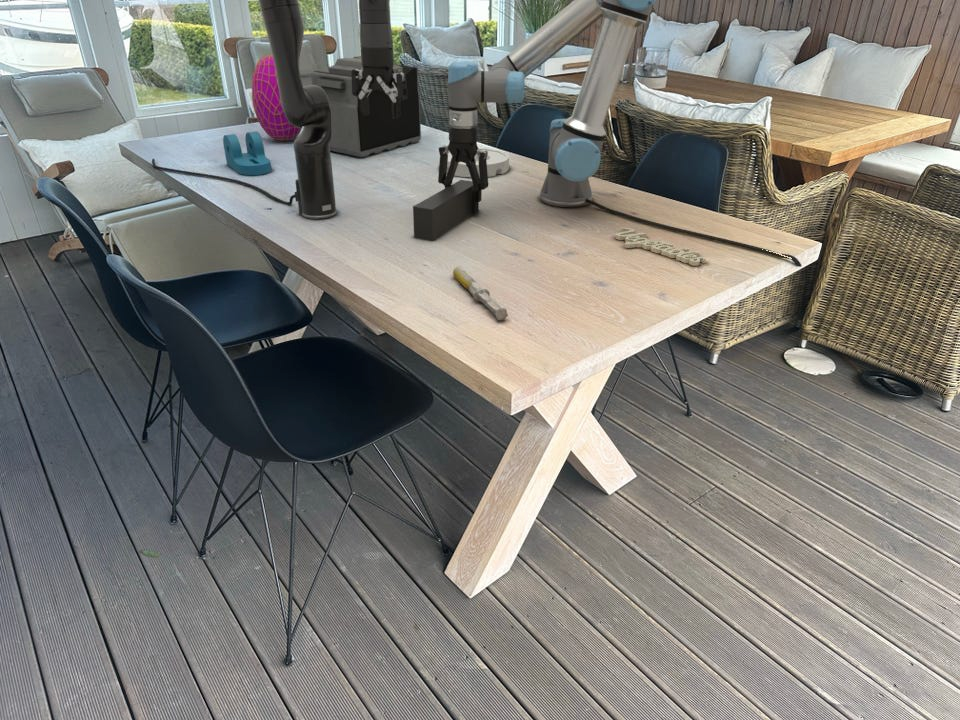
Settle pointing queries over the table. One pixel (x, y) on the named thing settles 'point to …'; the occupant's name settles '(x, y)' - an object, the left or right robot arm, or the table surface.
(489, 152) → the ashtray
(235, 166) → the camera mount
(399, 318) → the table surface
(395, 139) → the cooler box
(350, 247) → the table surface
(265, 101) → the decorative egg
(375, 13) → the left robot arm
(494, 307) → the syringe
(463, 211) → the bar
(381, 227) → the table surface
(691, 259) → the decorative sign
